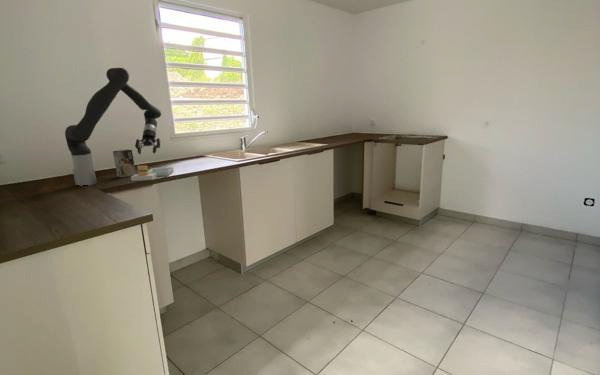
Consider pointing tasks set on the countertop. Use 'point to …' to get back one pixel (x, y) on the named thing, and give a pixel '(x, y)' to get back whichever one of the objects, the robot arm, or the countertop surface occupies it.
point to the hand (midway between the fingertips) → (146, 152)
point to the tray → (161, 171)
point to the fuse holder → (143, 177)
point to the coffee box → (124, 163)
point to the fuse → (142, 170)
